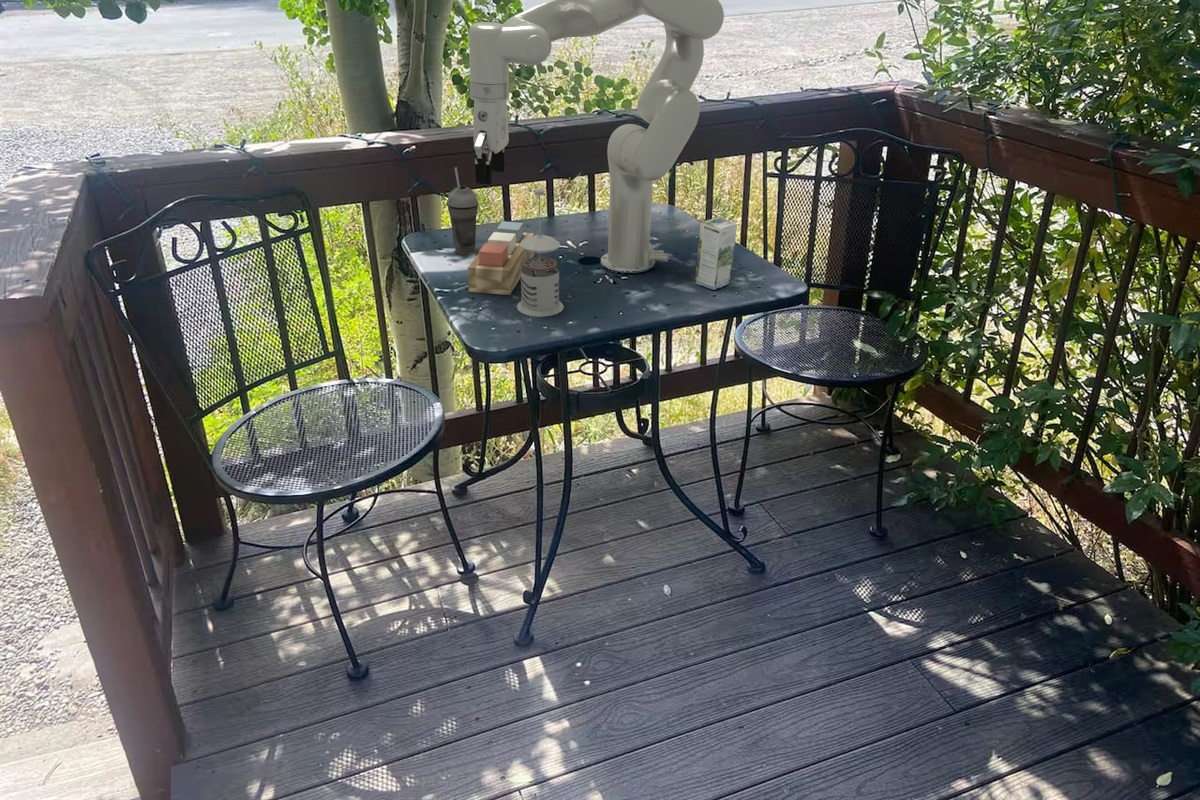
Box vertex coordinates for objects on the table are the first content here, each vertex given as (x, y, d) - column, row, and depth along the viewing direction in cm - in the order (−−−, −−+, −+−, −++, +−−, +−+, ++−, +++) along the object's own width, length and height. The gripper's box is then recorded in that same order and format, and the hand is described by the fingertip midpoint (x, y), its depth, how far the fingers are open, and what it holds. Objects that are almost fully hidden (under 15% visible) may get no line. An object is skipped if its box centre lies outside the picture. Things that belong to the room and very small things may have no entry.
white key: (516, 250, 199) (515, 233, 197) (510, 258, 195) (510, 241, 193) (494, 249, 200) (493, 232, 198) (488, 256, 196) (488, 239, 194)
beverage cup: (478, 257, 207) (474, 172, 197) (447, 256, 207) (441, 171, 197) (482, 246, 214) (479, 164, 204) (452, 245, 214) (447, 163, 204)
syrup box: (710, 277, 200) (716, 215, 193) (731, 285, 197) (737, 222, 189) (694, 284, 197) (699, 221, 189) (714, 292, 193) (721, 228, 186)
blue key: (523, 239, 206) (523, 222, 204) (518, 246, 201) (518, 230, 199) (502, 237, 206) (502, 221, 204) (497, 245, 202) (496, 228, 200)
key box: (534, 255, 209) (533, 233, 207) (509, 295, 189) (509, 270, 186) (497, 252, 210) (496, 230, 208) (468, 291, 190) (467, 267, 187)
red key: (508, 262, 193) (507, 245, 191) (502, 271, 188) (501, 253, 186) (485, 260, 193) (485, 243, 191) (479, 269, 189) (478, 251, 187)
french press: (525, 319, 178) (523, 198, 166) (507, 297, 188) (504, 181, 175) (571, 312, 182) (572, 193, 169) (550, 291, 191) (550, 176, 179)
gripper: (496, 100, 166) (496, 190, 174) (518, 84, 181) (518, 168, 189) (457, 97, 167) (460, 187, 175) (483, 81, 182) (484, 165, 190)
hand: (490, 177), depth 182 cm, fingers open, 9 cm apart
